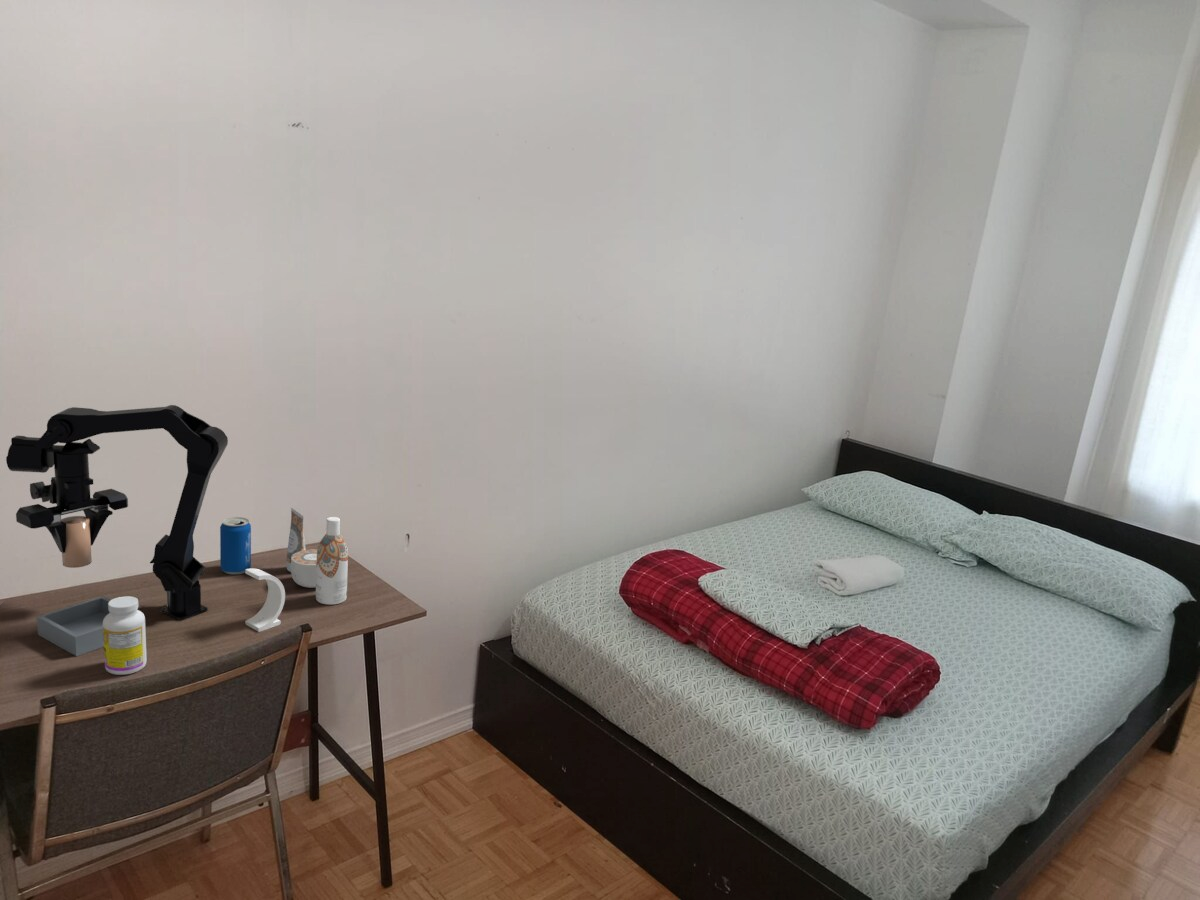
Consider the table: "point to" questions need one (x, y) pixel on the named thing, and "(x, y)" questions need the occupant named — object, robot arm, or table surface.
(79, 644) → the tray
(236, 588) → the table surface
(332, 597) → the cosmetic set
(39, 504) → the robot arm
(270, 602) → the headphone stand
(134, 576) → the table surface
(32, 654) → the table surface
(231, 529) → the beverage can
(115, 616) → the supplement bottle
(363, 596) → the table surface
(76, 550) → the cup
